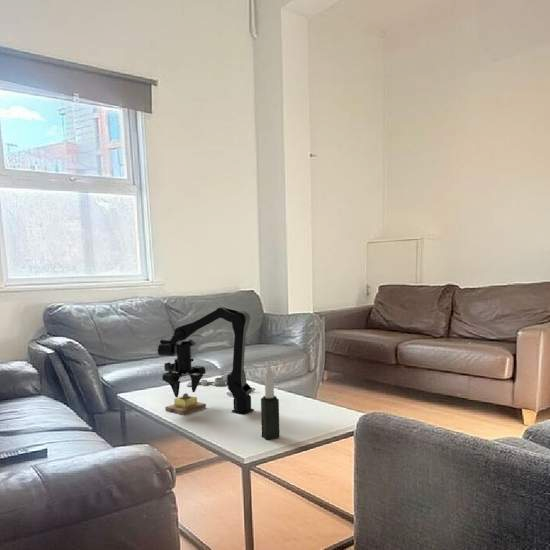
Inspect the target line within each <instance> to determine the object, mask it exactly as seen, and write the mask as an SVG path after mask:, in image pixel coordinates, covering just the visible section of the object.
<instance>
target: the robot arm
mask: <svg viewBox="0 0 550 550" xmlns="http://www.w3.org/2000/svg"><path fill="white" fill-rule="evenodd" d="M219 319H222V320H225V321H227V322H230V323H231V326H232V331H233V334H234V341H233V357H232V358H233V359H232V370H231V371H230V372H229V373H228V375H227V382H226V385H225V386H227V389H228V391H229V392H230V393H231V394H232V398H233V409H232V410H231V412H232V413H235V412H236V414H240V415H246V414H248V413H250V412H254V411H255V408H252V395H250V394H251V393H252V390H253V388H252V387H251V386H250V385H249V384H248V382H247V378H246V376H247V375H246V373H245V349H246V337H247V336H246V334H247V331H248V328H249V325H250V321H251V315H250V314H249V312H247V311H245V310H240V311H238V310H235V309H231V308H228V307H225V306H219V307H217V308H216V309H215V310H213V311H211V312H210V313H208V314H205V315H204V316H202V317H201V318H199V319H196V320H195V321H193V322H190V323H186V324H183V325H181V326H177V327H176V328H175V329H174V333H173V336H172V337H171V338H170V339H163V338H162V339H160V340H159V342H160V343H159V344H158V348H157V354H158V356H159V357H175V355H176V358H175V359H174V363H171V362H166V363H164V367H163V368H164V371H165V372H164V373H163V374H162V377H161V378H162V382H165V383H168V384H169V385H170V388H171V390H172V392H173V395H174V397H175V398H179V393H180V387H181V381H180V378H182V377H185V376H189V377H190V379H191V380H190V382H191V383H192V387H191V392H192V393H195V392H196V390H197V388H198V386H199V385H198V383H199V382H201V380H202V379H203V378H202V377H204V375H205V374H206V368H205V367H204V366H200V365H195V366H194V365H193V366H192V362H194V358H192V347H194V346H196V344H197V343H196V341H194V340H193V339H192V337H193V336H194V335H195V334H196V333H197V332H198V331H199V330H200V329H203V328H205V327H206V326H208V325H210V324H212V323H214V322H216V321H218V320H219ZM190 338H191V339H190ZM187 339H188V340H187Z"/></svg>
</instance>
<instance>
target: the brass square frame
mask: <svg viewBox="0 0 550 550" xmlns="http://www.w3.org/2000/svg"><path fill="white" fill-rule="evenodd" d="M197 402H198V398H197V396H192V395H188V399H187V400H183V395H182V396H180V397H179V396H178V397H175V398H174V405H175V406H176V407H181V408H189V407H192V406H195V405H197Z"/></svg>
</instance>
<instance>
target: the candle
mask: <svg viewBox="0 0 550 550" xmlns="http://www.w3.org/2000/svg"><path fill="white" fill-rule="evenodd" d="M274 382H275V381H274V371H273V370H272V367H271V363H270V362H267V367H266V370H265V372H264V392H265V394H264V396H263V397H261V398H260V413H261V414H260V415H261V421H260V422H261V437H262V438H263V439H265V440H266V441H271V440H277V439H280V432H281V431H280V402H279V401H280V400H279V398H278V397H277V396H276V395H275V390H274V389H275V386H274V385H275V384H274Z"/></svg>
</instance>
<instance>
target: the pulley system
mask: <svg viewBox="0 0 550 550" xmlns="http://www.w3.org/2000/svg"><path fill="white" fill-rule="evenodd" d="M228 374H229V373H228ZM228 374H227V373H225V374H223V375H221V377H216V378H214V381H208V379H201V380H200V381H199V383H198V386H202V387H205V386H212V385H213V387H224V385H225V386H227V385H226V384H227V375H228ZM213 383H214V384H213ZM186 387H187V388H192V383H191V381H189V382H188V383H187V384H186Z"/></svg>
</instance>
